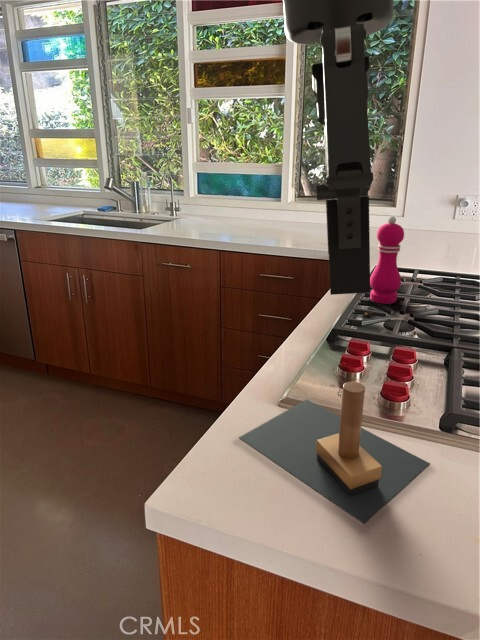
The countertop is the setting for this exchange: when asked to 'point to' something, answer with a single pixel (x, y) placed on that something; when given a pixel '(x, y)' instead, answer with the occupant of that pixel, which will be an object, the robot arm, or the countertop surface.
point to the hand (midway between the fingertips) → (345, 269)
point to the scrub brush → (349, 447)
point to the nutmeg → (369, 312)
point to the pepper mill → (387, 264)
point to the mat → (301, 461)
